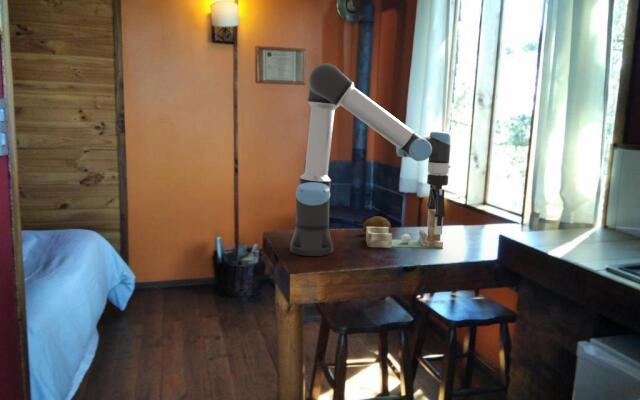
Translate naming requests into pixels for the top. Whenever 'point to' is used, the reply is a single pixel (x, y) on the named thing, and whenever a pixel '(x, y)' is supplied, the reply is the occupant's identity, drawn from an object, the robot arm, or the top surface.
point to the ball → (405, 238)
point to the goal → (378, 237)
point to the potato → (376, 222)
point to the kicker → (430, 233)
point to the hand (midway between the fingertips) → (434, 230)
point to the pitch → (410, 244)
